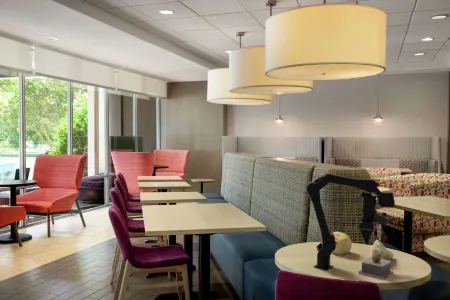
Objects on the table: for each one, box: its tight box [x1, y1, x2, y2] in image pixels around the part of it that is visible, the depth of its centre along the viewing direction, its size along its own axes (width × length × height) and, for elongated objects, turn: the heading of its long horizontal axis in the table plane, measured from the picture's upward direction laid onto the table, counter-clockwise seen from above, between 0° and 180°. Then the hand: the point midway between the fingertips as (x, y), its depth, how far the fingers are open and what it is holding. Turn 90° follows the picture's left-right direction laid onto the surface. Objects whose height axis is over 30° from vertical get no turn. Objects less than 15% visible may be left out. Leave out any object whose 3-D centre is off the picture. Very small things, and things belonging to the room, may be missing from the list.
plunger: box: [371, 252, 381, 262], centre depth 183 cm, size 7×7×7 cm
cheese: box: [371, 239, 395, 260], centre depth 202 cm, size 15×7×15 cm
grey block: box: [358, 256, 395, 280], centre depth 183 cm, size 11×11×6 cm
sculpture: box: [332, 231, 352, 255], centre depth 215 cm, size 12×12×11 cm
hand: (368, 241), depth 189 cm, fingers open, 9 cm apart
